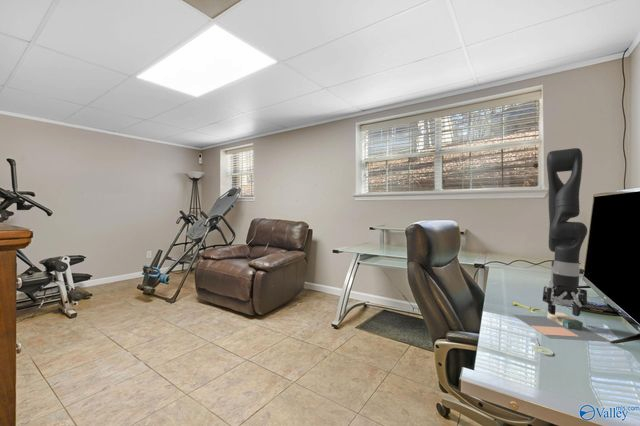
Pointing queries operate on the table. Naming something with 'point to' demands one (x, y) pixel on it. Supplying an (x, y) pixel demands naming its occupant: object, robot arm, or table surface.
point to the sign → (542, 350)
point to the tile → (565, 320)
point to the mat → (559, 329)
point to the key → (527, 307)
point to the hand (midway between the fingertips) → (563, 314)
